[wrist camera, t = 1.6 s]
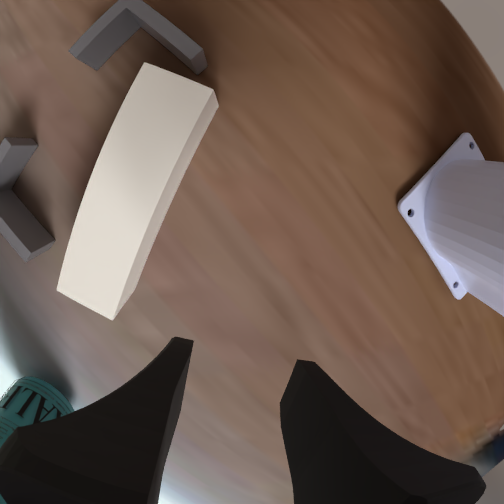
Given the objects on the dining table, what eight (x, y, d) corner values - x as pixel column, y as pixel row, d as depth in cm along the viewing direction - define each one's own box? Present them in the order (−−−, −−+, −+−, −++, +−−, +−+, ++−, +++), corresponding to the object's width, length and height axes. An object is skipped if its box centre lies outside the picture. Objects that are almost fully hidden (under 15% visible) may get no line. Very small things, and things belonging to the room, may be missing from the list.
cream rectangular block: (219, 106, 17) (213, 89, 12) (136, 287, 19) (112, 320, 15) (165, 83, 16) (144, 62, 12) (89, 263, 19) (56, 290, 14)
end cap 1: (85, 197, 17) (62, 204, 15) (49, 248, 18) (25, 262, 15) (31, 138, 16) (4, 137, 13) (0, 190, 17) (-27, 196, 14)
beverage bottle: (43, 419, 22) (-35, 579, 3) (10, 362, 20) (-106, 523, 1) (97, 422, 22) (29, 619, 3) (64, 361, 20) (-57, 572, 1)
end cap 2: (207, 66, 16) (203, 48, 13) (150, 121, 16) (135, 114, 14) (142, 12, 14) (129, -9, 12) (89, 63, 15) (68, 50, 12)
